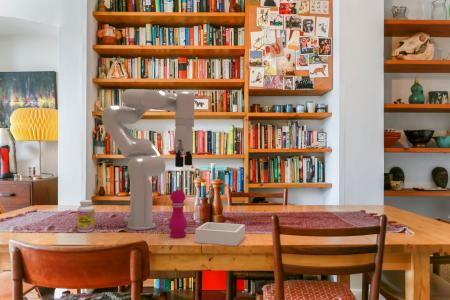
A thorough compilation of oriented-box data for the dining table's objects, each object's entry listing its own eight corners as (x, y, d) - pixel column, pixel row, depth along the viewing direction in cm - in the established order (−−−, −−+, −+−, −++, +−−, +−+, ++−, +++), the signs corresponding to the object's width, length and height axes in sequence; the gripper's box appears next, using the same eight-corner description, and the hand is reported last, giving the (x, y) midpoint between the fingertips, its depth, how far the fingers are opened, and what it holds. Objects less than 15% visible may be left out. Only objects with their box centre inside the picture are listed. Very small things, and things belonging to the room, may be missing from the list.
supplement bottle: (76, 233, 150) (76, 202, 149) (79, 229, 156) (79, 199, 156) (93, 232, 151) (93, 201, 151) (95, 228, 157) (95, 199, 157)
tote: (195, 242, 136) (195, 229, 136) (206, 234, 148) (206, 222, 148) (236, 246, 131) (236, 232, 131) (244, 237, 144) (244, 224, 144)
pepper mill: (183, 239, 141) (183, 187, 140) (166, 238, 142) (166, 187, 142) (189, 234, 148) (189, 185, 147) (172, 233, 149) (172, 185, 149)
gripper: (183, 124, 154) (183, 164, 154) (167, 122, 137) (166, 167, 137) (200, 124, 152) (199, 165, 152) (185, 122, 135) (184, 168, 135)
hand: (183, 166), depth 145 cm, fingers open, 9 cm apart
